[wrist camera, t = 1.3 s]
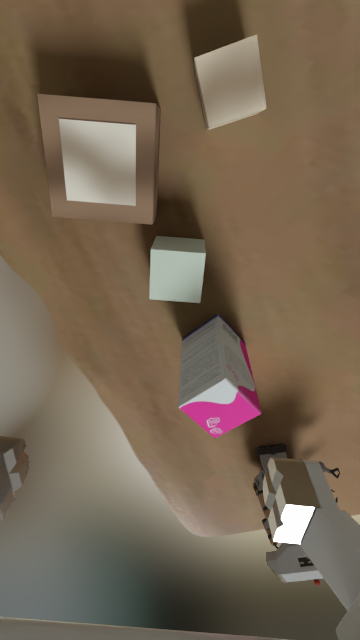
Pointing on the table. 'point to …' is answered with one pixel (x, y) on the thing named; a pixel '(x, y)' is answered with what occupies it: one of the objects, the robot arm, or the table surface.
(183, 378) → the supplement box
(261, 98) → the block
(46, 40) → the table surface
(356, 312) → the table surface
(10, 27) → the table surface
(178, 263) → the sage block
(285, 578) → the figurine
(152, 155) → the walnut base
